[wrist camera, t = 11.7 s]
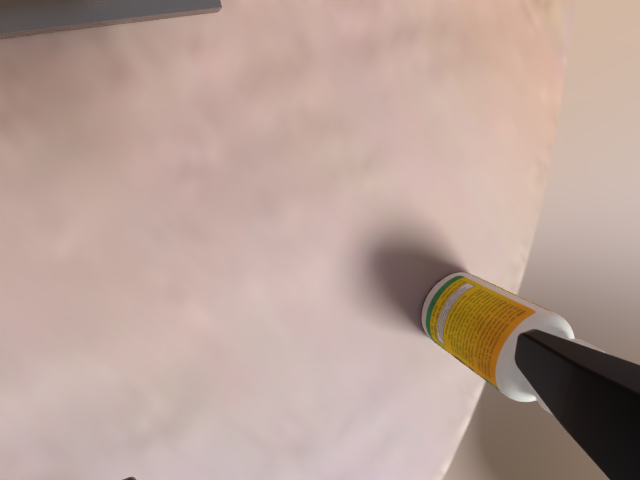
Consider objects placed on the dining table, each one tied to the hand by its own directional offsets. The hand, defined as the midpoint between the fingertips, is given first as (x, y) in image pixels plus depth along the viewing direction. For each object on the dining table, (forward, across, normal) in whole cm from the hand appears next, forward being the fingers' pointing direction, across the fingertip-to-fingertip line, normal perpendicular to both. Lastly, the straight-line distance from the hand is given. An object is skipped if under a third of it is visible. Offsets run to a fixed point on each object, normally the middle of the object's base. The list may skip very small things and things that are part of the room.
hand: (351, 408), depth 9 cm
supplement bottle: (+13, -12, +10) cm, 21 cm away
